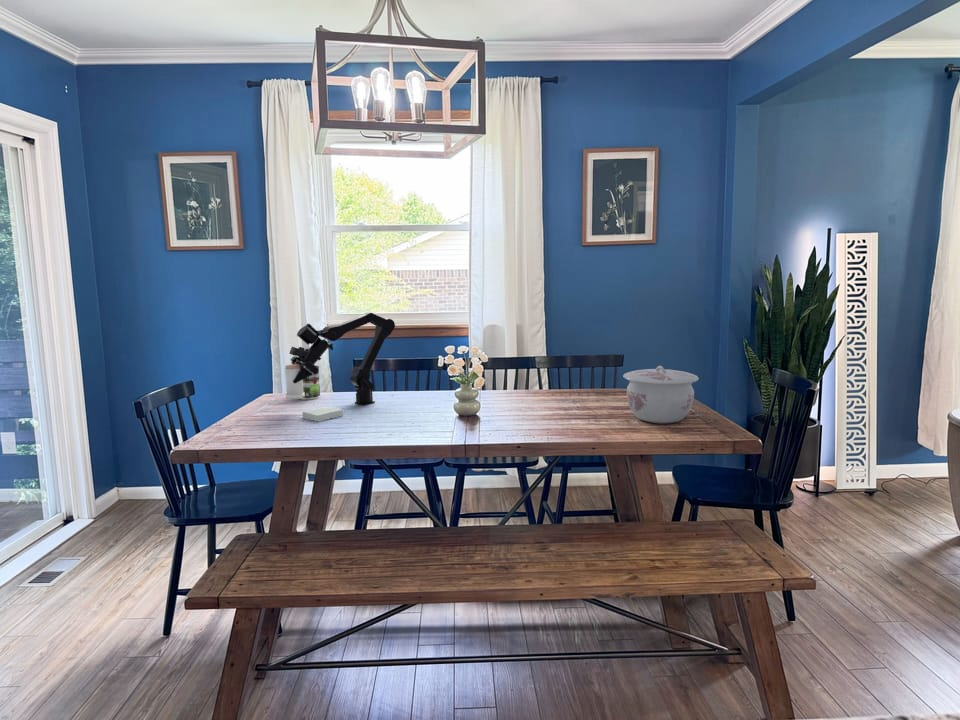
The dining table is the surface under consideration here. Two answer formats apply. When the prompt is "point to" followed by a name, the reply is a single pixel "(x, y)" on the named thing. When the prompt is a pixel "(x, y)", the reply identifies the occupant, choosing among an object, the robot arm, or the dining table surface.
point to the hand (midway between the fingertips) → (290, 381)
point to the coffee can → (311, 387)
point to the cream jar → (293, 388)
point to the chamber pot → (660, 394)
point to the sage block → (322, 413)
